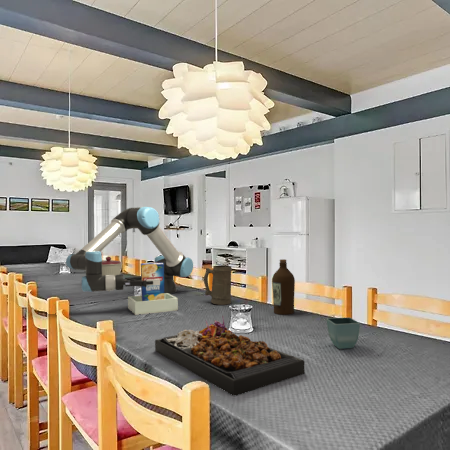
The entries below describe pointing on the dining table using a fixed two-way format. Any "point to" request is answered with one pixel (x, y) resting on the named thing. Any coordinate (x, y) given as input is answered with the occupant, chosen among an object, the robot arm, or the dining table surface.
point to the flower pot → (343, 332)
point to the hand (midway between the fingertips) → (158, 280)
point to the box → (152, 305)
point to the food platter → (229, 358)
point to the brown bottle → (283, 290)
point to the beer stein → (219, 284)
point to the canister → (111, 267)
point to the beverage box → (150, 273)
